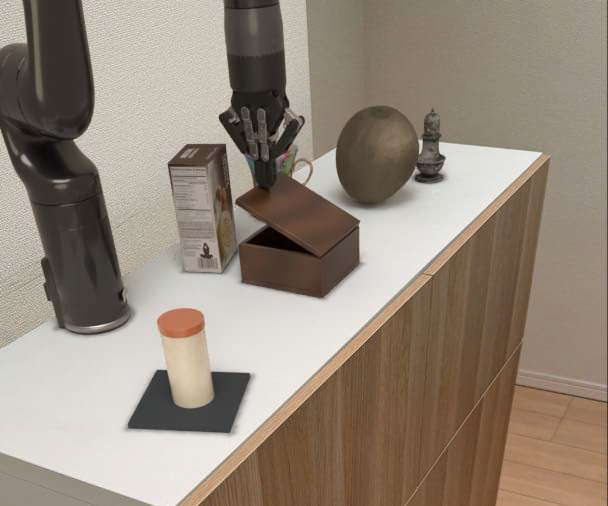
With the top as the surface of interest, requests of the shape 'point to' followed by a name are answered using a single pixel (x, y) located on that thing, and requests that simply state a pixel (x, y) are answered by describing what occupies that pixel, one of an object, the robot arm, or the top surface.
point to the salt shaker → (430, 151)
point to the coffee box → (203, 206)
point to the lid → (299, 214)
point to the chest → (295, 263)
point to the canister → (186, 357)
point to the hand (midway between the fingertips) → (266, 186)
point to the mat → (211, 417)
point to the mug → (283, 163)
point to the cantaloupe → (376, 154)
